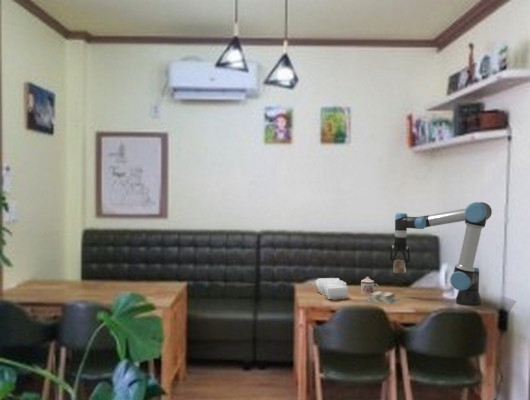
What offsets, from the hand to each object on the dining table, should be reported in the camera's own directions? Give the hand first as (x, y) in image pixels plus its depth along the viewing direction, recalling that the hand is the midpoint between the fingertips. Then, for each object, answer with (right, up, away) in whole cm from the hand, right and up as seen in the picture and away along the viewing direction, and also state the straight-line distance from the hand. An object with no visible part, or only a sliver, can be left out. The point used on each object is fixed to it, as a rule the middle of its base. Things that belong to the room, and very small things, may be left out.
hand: (399, 272), depth 360 cm
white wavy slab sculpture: (-44, -17, +3) cm, 47 cm away
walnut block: (0, 0, 0) cm, 0 cm away
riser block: (-13, -17, -9) cm, 23 cm away
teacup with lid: (-18, -17, +11) cm, 27 cm away
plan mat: (-13, -17, -9) cm, 23 cm away
